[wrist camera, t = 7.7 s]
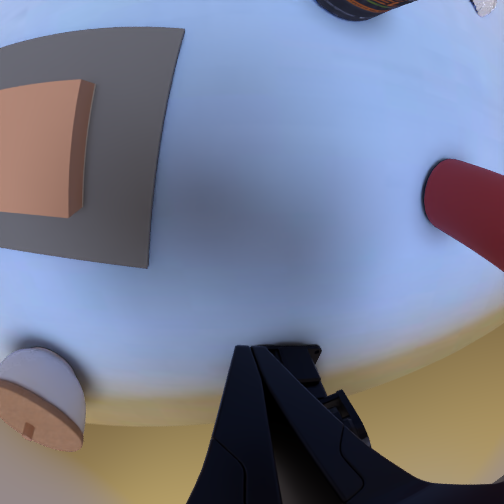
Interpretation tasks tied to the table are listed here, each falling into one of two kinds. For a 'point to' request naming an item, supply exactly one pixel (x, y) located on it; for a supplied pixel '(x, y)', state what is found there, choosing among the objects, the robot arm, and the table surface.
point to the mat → (101, 138)
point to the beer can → (468, 207)
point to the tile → (44, 147)
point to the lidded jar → (42, 398)
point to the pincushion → (484, 6)
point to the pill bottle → (361, 7)
